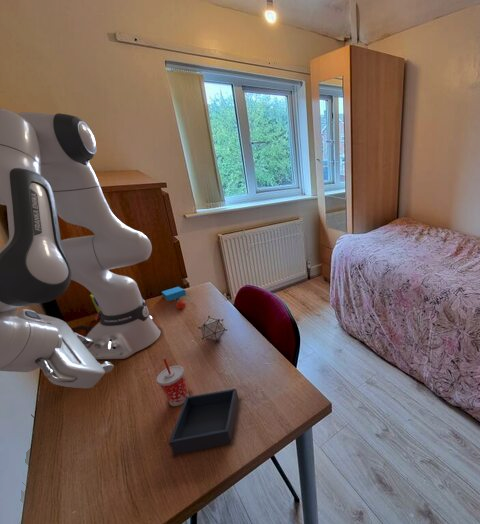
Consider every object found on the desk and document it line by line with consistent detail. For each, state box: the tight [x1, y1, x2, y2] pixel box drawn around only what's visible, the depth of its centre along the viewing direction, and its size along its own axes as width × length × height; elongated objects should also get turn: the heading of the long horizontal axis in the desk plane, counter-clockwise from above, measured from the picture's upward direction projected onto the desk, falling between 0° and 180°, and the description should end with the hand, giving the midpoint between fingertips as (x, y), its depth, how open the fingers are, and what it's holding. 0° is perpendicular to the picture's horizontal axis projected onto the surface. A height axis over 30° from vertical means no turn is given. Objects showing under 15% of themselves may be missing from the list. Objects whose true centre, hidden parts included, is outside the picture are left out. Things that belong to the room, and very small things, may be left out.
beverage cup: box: [156, 358, 190, 407], centre depth 75 cm, size 6×6×14 cm
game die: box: [197, 315, 228, 343], centre depth 99 cm, size 9×8×10 cm
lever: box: [161, 286, 187, 310], centre depth 123 cm, size 7×7×18 cm
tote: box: [168, 388, 240, 456], centre depth 70 cm, size 12×12×4 cm
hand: (100, 355), depth 64 cm, fingers open, 8 cm apart
